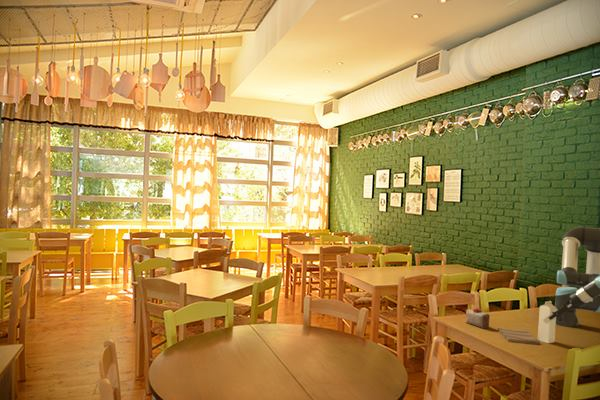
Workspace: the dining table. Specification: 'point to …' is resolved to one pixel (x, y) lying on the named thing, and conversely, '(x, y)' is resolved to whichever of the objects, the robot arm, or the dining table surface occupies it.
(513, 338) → the tan board
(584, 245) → the robot arm
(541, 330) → the milk
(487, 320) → the food item
